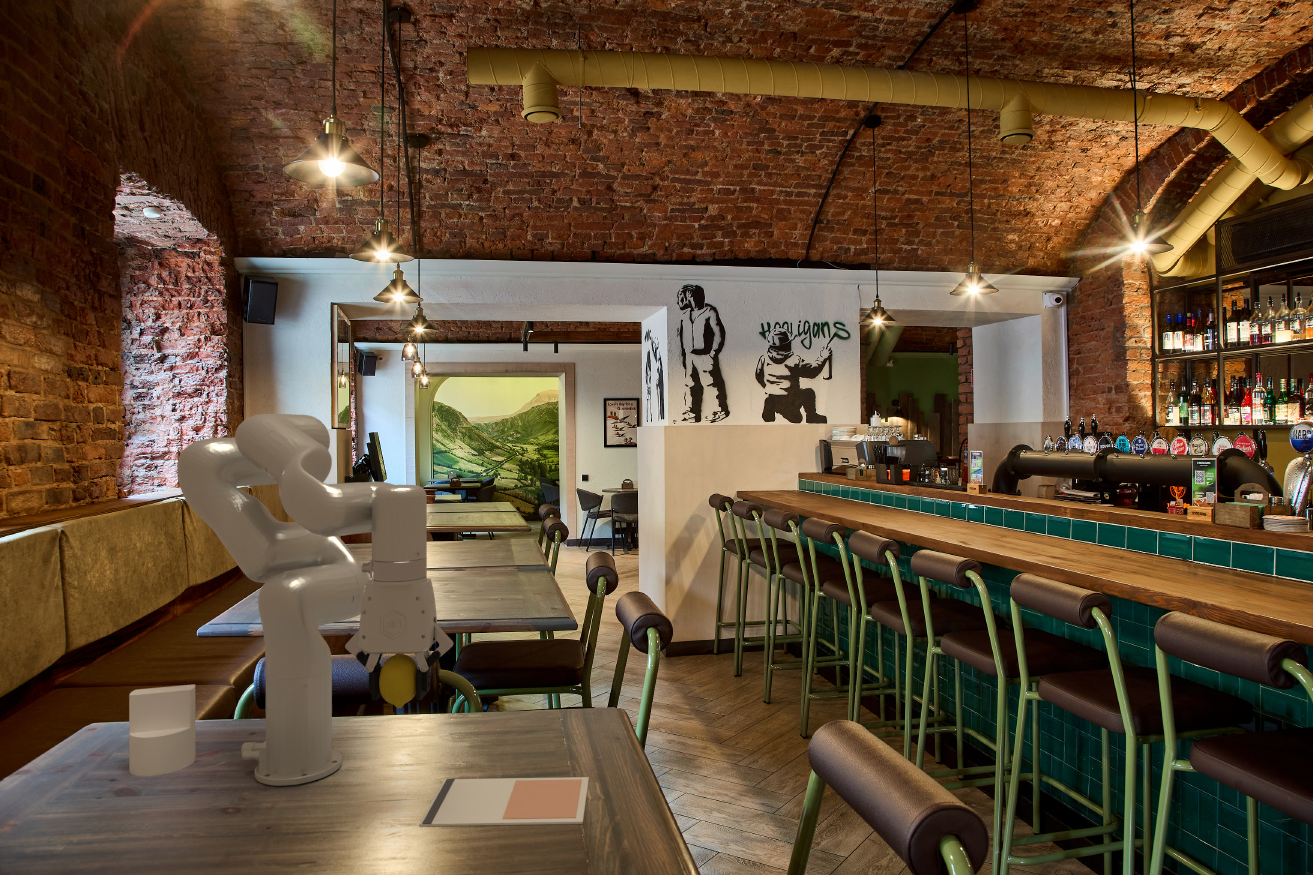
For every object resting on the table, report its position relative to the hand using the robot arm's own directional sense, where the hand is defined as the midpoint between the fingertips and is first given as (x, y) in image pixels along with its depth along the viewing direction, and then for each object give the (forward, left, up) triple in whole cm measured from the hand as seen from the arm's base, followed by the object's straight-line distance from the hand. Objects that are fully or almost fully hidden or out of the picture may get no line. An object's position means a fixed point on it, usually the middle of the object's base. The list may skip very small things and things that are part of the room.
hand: (399, 695), depth 112 cm
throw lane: (+16, 0, -15) cm, 22 cm away
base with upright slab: (-42, +15, -16) cm, 48 cm away
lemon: (0, 0, -2) cm, 2 cm away
